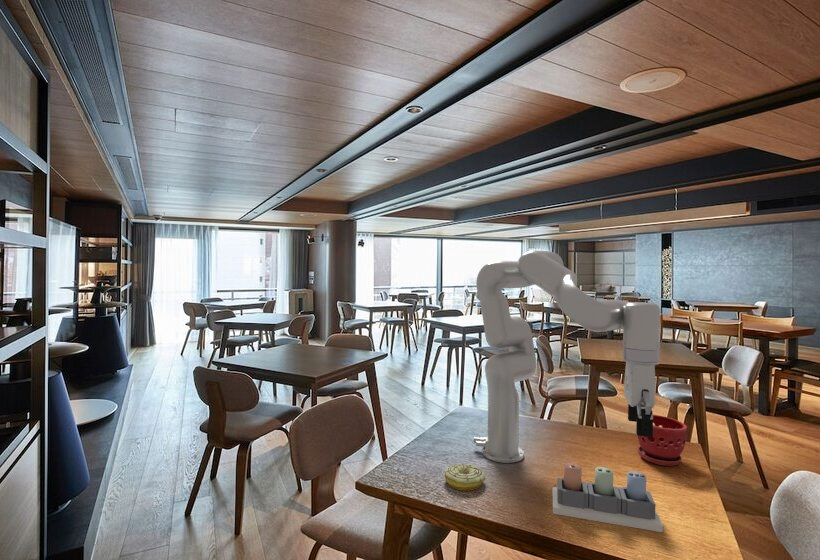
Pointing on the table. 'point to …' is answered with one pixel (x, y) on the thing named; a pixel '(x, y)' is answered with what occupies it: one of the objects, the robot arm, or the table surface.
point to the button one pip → (572, 476)
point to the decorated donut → (464, 477)
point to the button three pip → (636, 486)
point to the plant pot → (664, 442)
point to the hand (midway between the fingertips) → (639, 428)
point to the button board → (606, 506)
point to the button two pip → (603, 481)
